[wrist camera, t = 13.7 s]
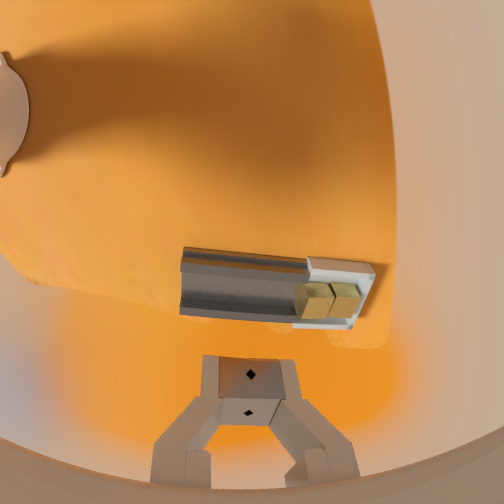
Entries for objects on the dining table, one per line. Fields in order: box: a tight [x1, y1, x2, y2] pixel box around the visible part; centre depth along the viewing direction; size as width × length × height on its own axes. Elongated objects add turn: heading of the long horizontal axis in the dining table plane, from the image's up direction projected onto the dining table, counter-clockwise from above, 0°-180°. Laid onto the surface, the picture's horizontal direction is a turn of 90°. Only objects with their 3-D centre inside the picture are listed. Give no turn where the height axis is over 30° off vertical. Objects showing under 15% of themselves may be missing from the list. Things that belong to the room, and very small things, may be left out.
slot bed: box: [180, 247, 310, 323], centre depth 43 cm, size 17×10×3 cm, turn 81°
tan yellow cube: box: [295, 282, 335, 319], centre depth 43 cm, size 4×4×4 cm
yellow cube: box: [327, 281, 361, 319], centre depth 44 cm, size 4×4×4 cm
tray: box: [292, 257, 377, 329], centre depth 45 cm, size 10×11×3 cm
